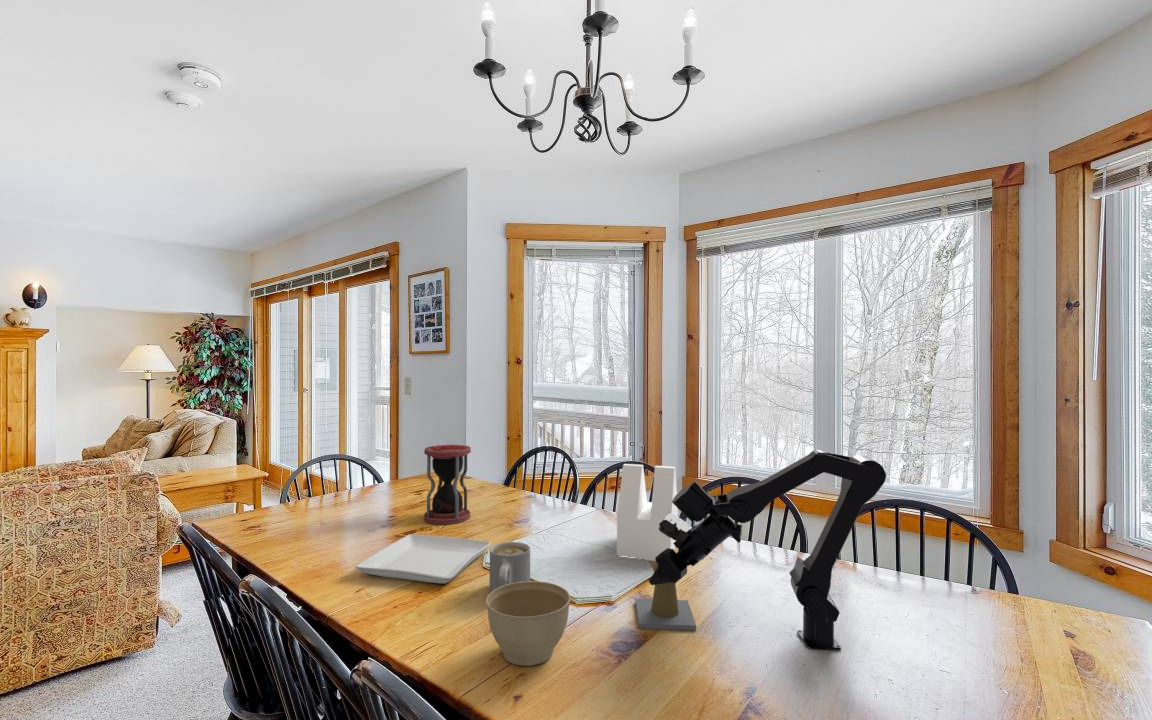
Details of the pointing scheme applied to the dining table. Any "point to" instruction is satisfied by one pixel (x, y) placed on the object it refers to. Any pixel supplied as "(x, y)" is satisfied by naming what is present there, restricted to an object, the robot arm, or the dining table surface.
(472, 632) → the dining table surface
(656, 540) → the white slotted block
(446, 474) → the hourglass
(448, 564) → the square plate
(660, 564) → the robot arm
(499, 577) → the coffee mug
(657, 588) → the cork
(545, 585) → the planter bowl
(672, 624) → the charcoal mat
